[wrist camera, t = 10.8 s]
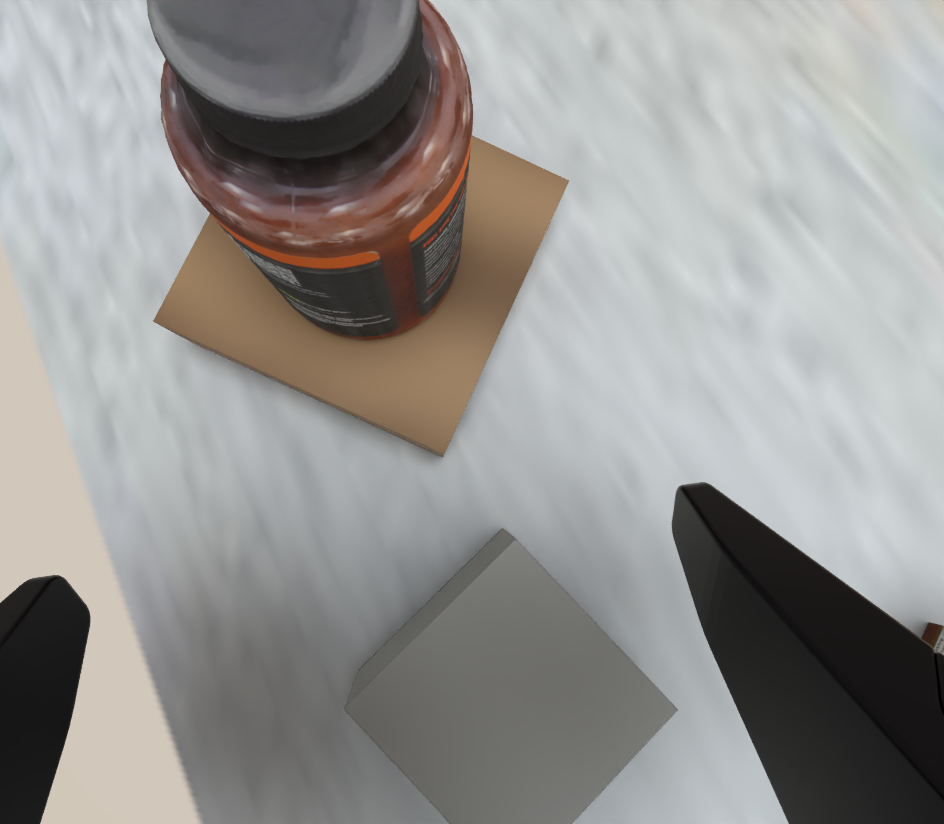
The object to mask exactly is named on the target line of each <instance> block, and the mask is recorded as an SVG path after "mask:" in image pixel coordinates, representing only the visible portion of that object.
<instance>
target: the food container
mask: <svg viewBox="0 0 944 824" xmlns="http://www.w3.org/2000/svg"><path fill="white" fill-rule="evenodd" d="M921 639H922V640H924V641H925V642H926V643H928V644H929V645H931V646H932V647H933V649H934V653H935V652H940V653H942V654H943V655H944V626H942V625H938V624H934V623H930V622H929V623H928V625H927V627H926V629H925V631H924V634H923V636H922V638H921Z"/></svg>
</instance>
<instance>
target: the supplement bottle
mask: <svg viewBox="0 0 944 824" xmlns="http://www.w3.org/2000/svg"><path fill="white" fill-rule="evenodd" d="M147 5H148V17H149V21H150V24H151V28H152V31H153V34H154V37H155V39H156V42H157V44H158V45H159V47H160V49H161V51H162V53H163V55H164V57H165V59H166V60H165V63H164V65H163V74H162V78H161V94H160V98H161V108H162V111H161V120H162V123H163V126H164V131H165V136H166V139H167V142H168V145H169V148H170V150H171V153H172V155H173V158H174V160H175V162H176V164H177V167H178V169H179V171H180V172H181V174H182V176H183V177H184V179H185V180H186V182H187V183H188V185H189V186H190V188H191V190H192V191H193V193H194V194H195V195H196V197H197V198H198V199H199V201H200V202H201V203H202V205H203V206H204V207H205V208H206V209H207V210H208V211H209V212H210V214H211V215H212V216H213V217H214V219H215V220H216V221H217V223H218V224H219V225H220V226H221V227H222V229H223V230H224V231H225V232H226V233H227V234H228V235H229V236H230V238H231V239H232V240H233V241H234V242H235V243H236V244H237V245H238V247H239V248H240V249H241V250H242V251H243V252H244V253H245V255H246V256H247V257H248V258H249V259H250V260H251V261H252V262H253V263H254V264H255V265H256V267H257V268H258V269H259V270H260V271H261V272H262V274H263V275H264V276H265V277H266V278H267V279H268V280H269V281H270V283H271V284H272V285H273V286H274V287H275V288H276V289H277V290H278V292H280V294H281V295H282V296H283V297H284V298H285V300H286V301H287V302H288V303H289V304H290V305H291V306H292V307H293V308H294V309H295V310H296V311H297V312H298V313H300V314H301V315H302V316H303V317H304V318H306V319H307V320H308V321H310V322H311V323H313V324H314V325H316V326H317V327H320V328H321V329H323V330H325V331H327V332H330V333H332V334H335V335H339V336H343V337H346V338H350V339H360V340H373V339H381V338H386V337H390V336H394V335H396V334H399V333H402V332H404V331H407V330H409V329H410V328H412V327H414V326H416V325H418V324H419V323H421V322H422V321H424V320H425V319H426V318H428V317H429V316H430V315H431V314H432V313H433V312H434V311H435V310H436V309H437V307H438V306H439V305H440V304H441V302H442V301H443V299H444V298H445V296H446V295H447V293H448V291H449V289H450V287H451V285H452V283H453V281H454V278H455V274H456V271H457V267H458V264H459V260H460V252H461V245H462V232H463V224H464V212H465V201H466V190H467V180H468V171H469V160H470V150H471V137H472V126H473V104H472V98H471V86H470V80H469V75H468V72H467V68H466V65H465V62H464V59H463V56H462V53H461V50H460V48H459V46H458V44H457V42H456V40H455V37H454V36H453V34H452V32H451V30H450V28H449V26H448V24H447V23H446V21H445V20H444V19H443V17H442V16H441V15H440V13H439V12H438V11H437V9H436V8H435V7H434V5H433V4H432V3H431V2H430V1H429V0H147Z"/></svg>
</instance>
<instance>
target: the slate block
mask: <svg viewBox="0 0 944 824" xmlns="http://www.w3.org/2000/svg"><path fill="white" fill-rule="evenodd" d="M344 710H345V711H346V712H347V713H348V714H349V715H350V716H351V718H352V719H353V720H354V721H355V722H356V723H357V724H358V725H359V726H360V727H361V728H362V729H363V730H364V732H365V733H366V734H367V735H368V736H369V737H370V738H371V739H372V740H373V741H374V742H375V743H376V744H377V746H378V747H379V748H380V749H381V750H382V751H383V752H384V753H385V754H386V755H387V756H388V757H389V758H390V760H391V761H392V762H393V763H394V764H395V765H396V766H397V767H398V768H399V769H400V770H401V771H402V772H403V774H404V775H405V776H406V777H407V778H408V779H409V780H410V781H411V782H412V783H413V784H414V785H415V786H416V788H417V789H418V790H419V791H420V792H421V793H422V794H423V795H424V796H425V797H426V798H427V799H428V800H429V802H430V803H431V804H432V805H433V806H434V807H435V808H436V809H437V810H438V811H439V812H440V813H441V815H442V816H443V817H444V818H445V819H446V820H447V821H448V822H449V823H450V824H572V823H573V822H574V821H575V820H576V819H577V818H578V817H579V816H580V814H581V813H582V812H583V811H584V810H585V809H586V808H587V807H588V806H589V805H590V804H591V803H592V802H593V800H594V799H595V798H596V797H597V796H598V795H599V794H600V793H601V792H602V791H603V790H604V789H605V788H606V787H607V785H608V784H609V783H610V782H611V781H612V780H613V779H614V778H615V777H616V776H617V775H618V774H619V773H620V771H621V770H622V769H623V768H624V767H625V766H626V765H627V764H628V763H629V762H630V761H631V760H632V759H633V758H634V756H635V755H636V754H637V753H638V752H639V751H640V750H641V749H642V748H643V747H644V746H645V745H646V744H647V742H648V741H649V740H650V739H651V738H652V737H653V736H654V735H655V734H656V733H657V732H658V731H659V730H660V729H661V727H662V726H663V725H664V724H665V723H666V722H667V721H668V720H669V719H670V718H671V717H672V716H673V715H674V713H675V712H676V711H677V710H678V709H677V708H676V707H675V706H674V705H673V704H672V703H671V702H670V701H669V700H668V698H667V697H666V696H665V695H664V694H663V693H662V692H661V691H660V690H659V689H658V688H657V687H656V686H655V685H654V684H653V683H652V682H651V681H650V680H649V678H648V677H647V676H646V675H645V674H644V673H643V672H642V671H641V670H640V669H639V668H638V667H637V666H636V665H635V664H634V663H633V662H632V661H631V660H630V658H629V657H628V656H627V655H626V654H625V653H624V652H623V651H622V650H621V649H620V648H619V647H618V646H617V645H616V644H615V643H614V642H613V641H612V640H611V638H610V637H609V636H608V635H607V634H606V633H605V632H604V631H603V630H602V629H601V628H600V627H599V626H598V625H597V624H596V623H595V622H594V621H593V619H592V618H591V617H590V616H589V615H588V614H587V613H586V612H585V611H584V610H583V609H582V608H581V607H580V606H579V605H578V604H577V603H576V602H575V601H574V599H573V598H572V597H571V596H570V595H569V594H568V593H567V592H566V591H565V590H564V589H563V588H562V587H561V586H560V585H559V584H558V583H557V582H556V581H555V579H554V578H553V577H552V576H551V575H550V574H549V573H548V572H547V571H546V570H545V569H544V568H543V567H542V566H541V565H540V564H539V563H538V562H537V561H536V559H535V558H534V557H533V556H532V555H531V554H530V553H529V552H528V551H527V550H526V549H525V548H524V547H523V546H522V545H521V544H520V543H519V542H518V540H517V539H515V538H514V537H513V536H512V535H510V534H509V533H508V532H507V531H505V530H504V529H503V528H502V529H501V530H500V531H499V532H498V533H497V534H496V535H495V536H494V537H493V538H492V539H491V540H490V541H489V542H488V543H487V544H486V545H485V546H484V547H483V548H482V549H481V550H480V551H479V552H478V553H477V554H476V555H475V556H474V557H473V558H472V559H471V560H470V561H469V562H468V563H467V564H466V565H465V566H464V567H463V568H462V569H461V570H460V571H459V572H458V573H457V574H456V575H455V576H454V577H453V578H452V579H451V580H450V581H449V582H448V583H447V584H446V585H445V586H444V587H443V588H442V589H440V590H439V591H438V592H437V593H436V594H435V595H434V596H433V597H432V598H431V599H430V600H429V601H428V602H427V603H426V604H425V605H424V606H423V607H422V608H421V609H420V610H419V611H418V612H417V613H416V614H415V615H414V616H413V617H412V618H411V619H410V620H409V621H408V622H407V623H406V624H405V625H404V626H403V627H402V628H401V629H400V630H399V631H398V632H397V633H396V634H395V635H394V636H393V637H392V638H391V639H390V640H389V641H388V642H387V643H386V644H385V645H384V646H383V647H382V648H381V649H380V650H379V651H377V652H376V653H375V654H374V655H373V656H372V657H371V658H370V659H369V660H368V661H367V662H366V663H365V664H364V665H363V666H362V667H361V668H360V669H359V671H358V674H357V677H356V679H355V682H354V684H353V687H352V690H351V692H350V695H349V697H348V700H347V703H346V705H345V708H344Z"/></svg>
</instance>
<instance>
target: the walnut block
mask: <svg viewBox="0 0 944 824" xmlns="http://www.w3.org/2000/svg"><path fill="white" fill-rule="evenodd" d="M568 182H569V180H566V179H564V178H562V177H560V176H558V175H556V174H554V173H551V172H549V171H547V170H545V169H543V168H541V167H539V166H536V165H534V164H532V163H530V162H528V161H526V160H524V159H521V158H519V157H517V156H515V155H513V154H511V153H509V152H506V151H504V150H502V149H500V148H498V147H496V146H494V145H491V144H489V143H487V142H485V141H483V140H481V139H479V138H476V137H474V136H472V137H471V150H470V160H469V171H468V180H467V190H466V201H465V212H464V224H463V232H462V245H461V252H460V260H459V264H458V267H457V271H456V274H455V278H454V281H453V283H452V285H451V287H450V289H449V291H448V293H447V295H446V296H445V298H444V299H443V301H442V302H441V304H440V305H439V306H438V307H437V309H436V310H435V311H434V312H433V313H432V314H431V315H430V316H429V317H428V318H426V319H425V320H424V321H422V322H421V323H419V324H418V325H416V326H414V327H412V328H410V329H409V330H407V331H404V332H402V333H399V334H396V335H394V336H390V337H386V338H381V339H373V340H360V339H350V338H346V337H343V336H339V335H335V334H332V333H330V332H327V331H325V330H323V329H321V328H320V327H317V326H316V325H314V324H313V323H311V322H310V321H308V320H307V319H306V318H304V317H303V316H302V315H301V314H300V313H298V312H297V311H296V310H295V309H294V308H293V307H292V306H291V305H290V304H289V303H288V302H287V301H286V300H285V298H284V297H283V296H282V295H281V294H280V292H278V290H277V289H276V288H275V287H274V286H273V285H272V284H271V283H270V281H269V280H268V279H267V278H266V277H265V276H264V275H263V274H262V272H261V271H260V270H259V269H258V268H257V267H256V265H255V264H254V263H253V262H252V261H251V260H250V259H249V258H248V257H247V256H246V255H245V253H244V252H243V251H242V250H241V249H240V248H239V247H238V245H237V244H236V243H235V242H234V241H233V240H232V239H231V238H230V236H229V235H228V234H227V233H226V232H225V231H224V230H223V229H222V227H221V226H220V225H219V224H218V223H217V221H216V220H215V219H214V217H213V216H212V215H211V214H210V215H209V217H208V219H207V220H206V222H205V224H204V226H203V228H202V230H201V232H200V234H199V236H198V237H197V239H196V241H195V243H194V245H193V247H192V249H191V251H190V253H189V255H188V256H187V258H186V260H185V262H184V264H183V266H182V268H181V270H180V272H179V273H178V275H177V277H176V279H175V281H174V283H173V285H172V287H171V289H170V290H169V292H168V294H167V296H166V298H165V300H164V302H163V304H162V306H161V307H160V309H159V311H158V313H157V315H156V317H155V319H154V321H153V322H155V323H157V324H159V325H161V326H162V327H164V328H166V329H168V330H170V331H172V332H174V333H175V334H177V335H179V336H181V337H183V338H185V339H186V340H188V341H190V342H192V343H195V344H197V345H199V346H201V347H203V348H206V349H208V350H210V351H212V352H214V353H216V354H219V355H221V356H223V357H225V358H227V359H230V360H232V361H234V362H236V363H238V364H241V365H243V366H245V367H247V368H249V369H252V370H254V371H256V372H258V373H260V374H262V375H265V376H267V377H269V378H271V379H273V380H276V381H278V382H280V383H282V384H284V385H287V386H289V387H291V388H293V389H295V390H298V391H300V392H302V393H304V394H306V395H309V396H311V397H313V398H315V399H317V400H319V401H322V402H324V403H326V404H328V405H330V406H333V407H335V408H337V409H339V410H341V411H344V412H346V413H348V414H350V415H352V416H355V417H357V418H359V419H361V420H363V421H365V422H368V423H370V424H372V425H374V426H376V427H379V428H381V429H383V430H385V431H387V432H390V433H392V434H394V435H396V436H398V437H401V438H403V439H405V440H407V441H409V442H411V443H414V444H416V445H418V446H420V447H422V448H425V449H427V450H429V451H431V452H433V453H436V454H438V455H440V456H442V457H443V455H444V453H445V451H446V449H447V447H448V445H449V442H450V440H451V438H452V436H453V434H454V431H455V429H456V427H457V425H458V423H459V420H460V418H461V416H462V414H463V412H464V410H465V407H466V405H467V403H468V401H469V399H470V396H471V394H472V392H473V390H474V388H475V386H476V383H477V381H478V379H479V377H480V375H481V372H482V370H483V368H484V366H485V364H486V361H487V359H488V357H489V355H490V353H491V351H492V348H493V346H494V344H495V342H496V340H497V337H498V335H499V333H500V331H501V329H502V326H503V324H504V322H505V320H506V318H507V316H508V313H509V311H510V309H511V307H512V305H513V302H514V300H515V298H516V296H517V294H518V292H519V289H520V287H521V285H522V283H523V281H524V278H525V276H526V274H527V272H528V270H529V267H530V265H531V263H532V261H533V259H534V257H535V254H536V252H537V250H538V248H539V246H540V243H541V241H542V239H543V237H544V235H545V233H546V230H547V228H548V226H549V224H550V222H551V219H552V217H553V215H554V213H555V211H556V208H557V206H558V204H559V202H560V200H561V198H562V195H563V193H564V191H565V189H566V187H567V184H568Z"/></svg>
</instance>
